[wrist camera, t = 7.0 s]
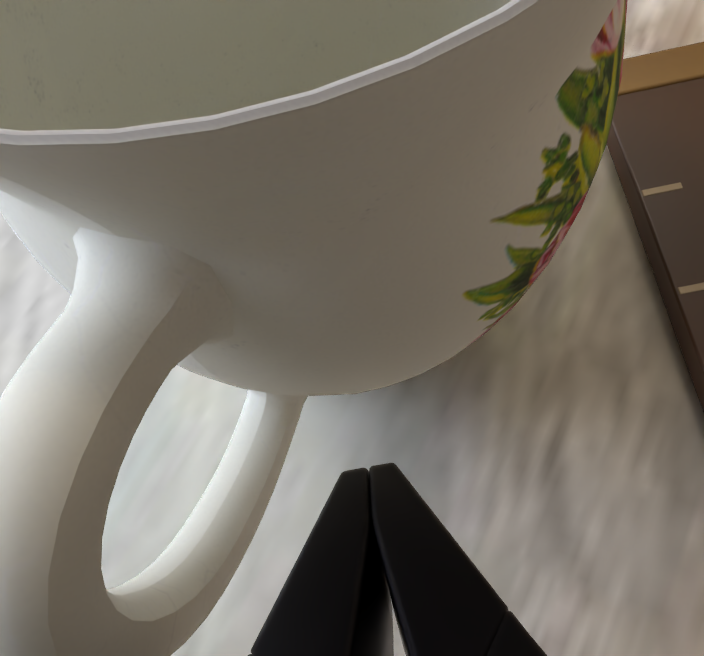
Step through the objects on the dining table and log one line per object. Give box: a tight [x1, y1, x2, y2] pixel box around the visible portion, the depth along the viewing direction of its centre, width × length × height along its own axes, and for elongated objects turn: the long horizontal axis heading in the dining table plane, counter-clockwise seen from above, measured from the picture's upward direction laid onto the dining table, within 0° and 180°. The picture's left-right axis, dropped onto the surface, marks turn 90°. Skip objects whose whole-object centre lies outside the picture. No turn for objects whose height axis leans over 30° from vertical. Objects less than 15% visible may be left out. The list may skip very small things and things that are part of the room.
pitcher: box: [0, 0, 627, 656], centre depth 11 cm, size 11×18×14 cm, turn 165°
